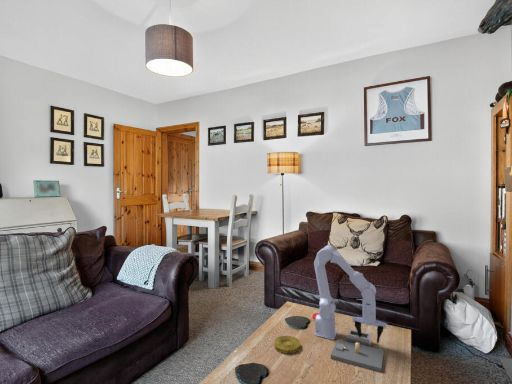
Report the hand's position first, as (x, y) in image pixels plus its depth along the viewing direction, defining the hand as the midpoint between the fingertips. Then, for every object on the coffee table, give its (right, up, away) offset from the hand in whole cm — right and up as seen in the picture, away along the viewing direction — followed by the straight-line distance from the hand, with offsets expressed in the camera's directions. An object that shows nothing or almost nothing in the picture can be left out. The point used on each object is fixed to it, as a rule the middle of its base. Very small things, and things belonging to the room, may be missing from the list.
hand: (369, 340), depth 133 cm
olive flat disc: (-38, -3, -1) cm, 38 cm away
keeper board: (-8, -3, -9) cm, 12 cm away
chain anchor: (-14, -1, -6) cm, 15 cm away
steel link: (-4, -2, +2) cm, 5 cm away
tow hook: (-17, -2, +27) cm, 32 cm away
